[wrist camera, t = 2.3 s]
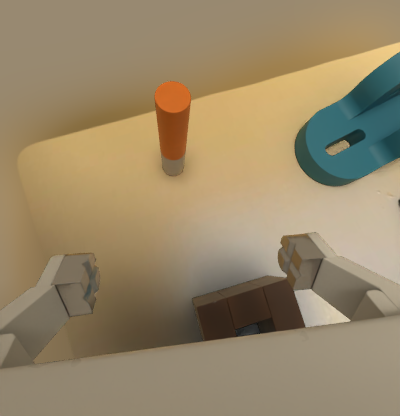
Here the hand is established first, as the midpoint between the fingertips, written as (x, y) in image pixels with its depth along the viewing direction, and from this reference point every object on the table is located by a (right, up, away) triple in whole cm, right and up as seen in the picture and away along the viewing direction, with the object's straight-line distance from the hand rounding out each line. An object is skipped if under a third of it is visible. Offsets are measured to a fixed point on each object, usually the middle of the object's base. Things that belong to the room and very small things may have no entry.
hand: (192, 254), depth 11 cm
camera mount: (+22, +12, +26) cm, 36 cm away
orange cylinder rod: (-3, +8, +22) cm, 23 cm away
